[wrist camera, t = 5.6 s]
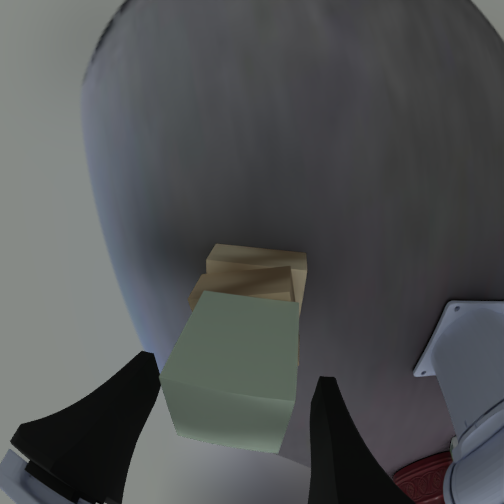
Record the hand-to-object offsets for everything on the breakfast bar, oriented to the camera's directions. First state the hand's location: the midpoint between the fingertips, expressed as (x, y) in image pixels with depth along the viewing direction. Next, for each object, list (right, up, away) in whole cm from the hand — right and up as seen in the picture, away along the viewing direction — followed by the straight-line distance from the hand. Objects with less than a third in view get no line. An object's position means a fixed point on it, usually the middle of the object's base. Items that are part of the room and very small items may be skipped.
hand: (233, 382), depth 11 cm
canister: (+32, -32, +20) cm, 50 cm away
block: (+1, +2, +3) cm, 3 cm away
